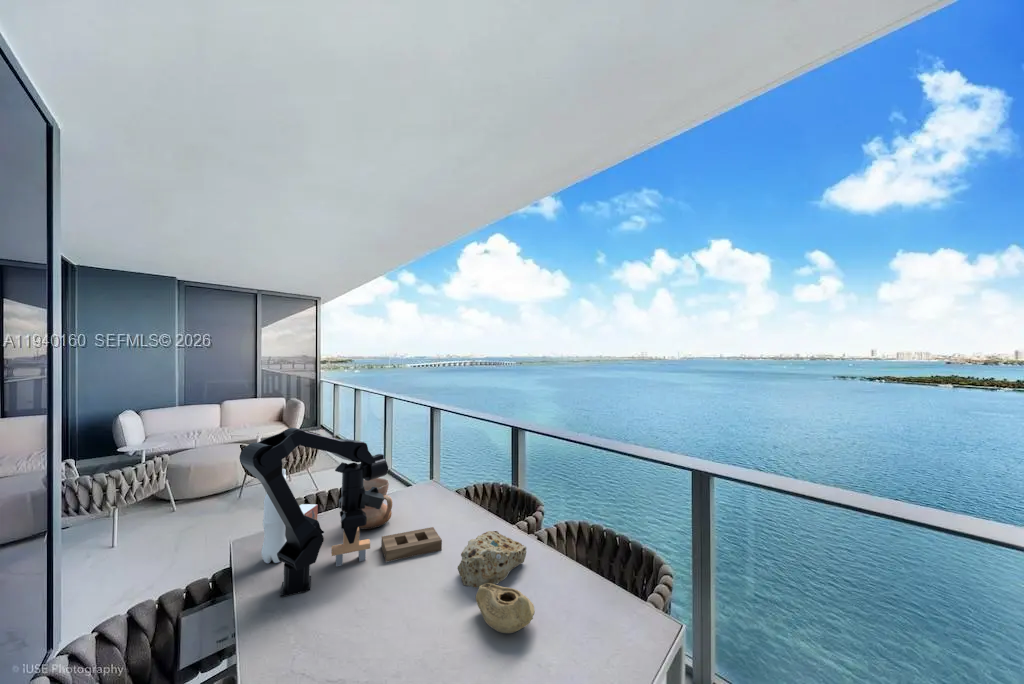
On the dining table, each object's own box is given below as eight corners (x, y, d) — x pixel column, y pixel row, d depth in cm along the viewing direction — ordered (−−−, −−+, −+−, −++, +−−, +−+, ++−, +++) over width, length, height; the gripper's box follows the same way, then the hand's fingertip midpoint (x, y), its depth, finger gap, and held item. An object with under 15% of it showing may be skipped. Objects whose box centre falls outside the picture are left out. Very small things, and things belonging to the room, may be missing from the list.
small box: (303, 549, 115) (304, 513, 115) (284, 549, 115) (286, 513, 115) (317, 537, 123) (318, 503, 123) (300, 537, 123) (301, 503, 123)
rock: (486, 551, 117) (494, 519, 117) (526, 576, 109) (535, 541, 110) (443, 576, 99) (453, 538, 99) (488, 607, 92) (499, 566, 92)
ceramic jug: (335, 526, 131) (336, 484, 131) (368, 511, 143) (370, 473, 144) (372, 539, 122) (373, 494, 123) (404, 522, 135) (406, 481, 135)
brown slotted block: (441, 550, 115) (441, 539, 115) (386, 561, 108) (386, 551, 108) (433, 536, 124) (433, 526, 124) (381, 546, 117) (381, 536, 117)
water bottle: (276, 567, 105) (280, 474, 106) (254, 564, 106) (258, 472, 107) (296, 554, 112) (299, 467, 113) (275, 551, 113) (278, 466, 114)
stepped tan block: (369, 559, 109) (370, 528, 110) (331, 567, 105) (332, 535, 105) (368, 554, 112) (369, 524, 112) (331, 562, 107) (332, 531, 108)
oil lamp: (487, 598, 92) (488, 564, 92) (544, 620, 84) (544, 582, 84) (459, 625, 82) (459, 587, 83) (520, 652, 75) (520, 610, 75)
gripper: (386, 490, 105) (385, 549, 104) (378, 473, 121) (376, 523, 121) (342, 496, 100) (340, 558, 99) (339, 477, 116) (338, 529, 116)
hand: (351, 540), depth 109 cm, fingers closed on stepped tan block, 3 cm apart
